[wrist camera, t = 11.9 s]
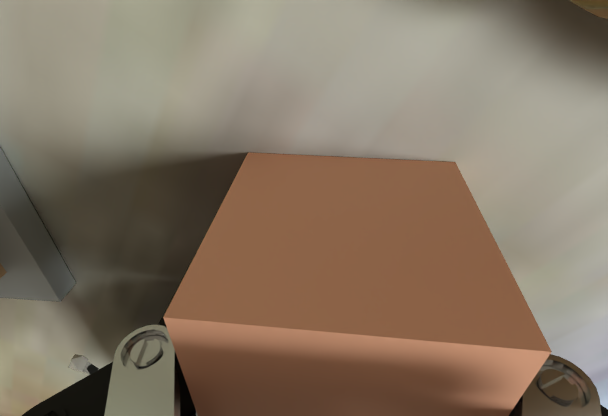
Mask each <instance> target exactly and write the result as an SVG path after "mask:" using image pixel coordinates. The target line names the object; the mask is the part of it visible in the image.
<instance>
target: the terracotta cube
mask: <svg viewBox="0 0 608 416" xmlns="http://www.w3.org/2000/svg"><path fill="white" fill-rule="evenodd" d="M163 318H164V321H165V324H166V327H167V330H168V333H169V335H170V338H171V341H172V344H173V347H174V349H175V352H176V355H177V358H178V361H179V364H180V366H181V369H182V372H183V375H184V378H185V381H186V383H187V386H188V389H189V392H190V395H191V398H192V400H193V403H194V406H195V409H196V412H197V415H198V416H509V414H510V413H511V411H512V410H513V408H514V407H515V405H516V404H517V402H518V401H519V399H520V398H521V396H522V395H523V393H524V392H525V390H526V389H527V388H528V386H529V385H530V383H531V382H532V380H533V379H534V377H535V376H536V374H537V373H538V371H539V370H540V368H541V367H542V365H543V364H544V362H545V361H546V359H547V358H548V356H549V355H550V353H551V350H550V348H549V346H548V344H547V342H546V340H545V338H544V336H543V334H542V332H541V330H540V328H539V326H538V324H537V322H536V320H535V318H534V316H533V314H532V312H531V310H530V308H529V306H528V305H527V303H526V301H525V299H524V297H523V295H522V293H521V291H520V289H519V287H518V285H517V283H516V281H515V279H514V277H513V275H512V273H511V271H510V269H509V267H508V265H507V263H506V261H505V259H504V257H503V255H502V253H501V251H500V249H499V247H498V245H497V243H496V241H495V239H494V238H493V236H492V234H491V232H490V230H489V228H488V226H487V224H486V222H485V220H484V218H483V216H482V214H481V212H480V210H479V208H478V206H477V204H476V202H475V200H474V198H473V196H472V194H471V192H470V190H469V188H468V186H467V184H466V182H465V180H464V178H463V176H462V174H461V173H460V171H459V169H458V167H457V165H456V163H455V162H440V161H419V160H398V159H376V158H355V157H334V156H313V155H291V154H270V153H249V152H248V154H247V156H246V158H245V160H244V161H243V163H242V165H241V167H240V169H239V171H238V173H237V175H236V177H235V179H234V181H233V183H232V185H231V187H230V189H229V191H228V193H227V194H226V196H225V198H224V200H223V202H222V204H221V206H220V208H219V210H218V212H217V214H216V216H215V218H214V220H213V222H212V224H211V226H210V227H209V229H208V231H207V233H206V235H205V237H204V239H203V241H202V243H201V245H200V247H199V249H198V251H197V253H196V255H195V257H194V259H193V260H192V262H191V264H190V266H189V268H188V270H187V272H186V274H185V276H184V278H183V280H182V282H181V284H180V286H179V288H178V290H177V292H176V293H175V295H174V297H173V299H172V301H171V303H170V305H169V307H168V309H167V311H166V313H165V315H164V317H163Z"/></svg>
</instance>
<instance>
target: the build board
mask: <svg viewBox="0 0 608 416" xmlns="http://www.w3.org/2000/svg"><path fill="white" fill-rule="evenodd" d="M0 263H1V265H2V266H3V268H4V269H5V270H6V272H7V273H6V274H5V275H4V276H2V277H1V278H0V298H13V299H27V300H42V301H56V302H61V301H62V299H63V298H64V297H65V296H66V295H67V293H68V292H69V291H70V290H71V289H72V287H73V286H74V285H75V284H76V282H75V280H74V278H73V277H72V275H71V273H70V271H69V269H68V268H67V266H66V264H65V262H64V261H63V259H62V257H61V255H60V253H59V252H58V250H57V248H56V246H55V244H54V243H53V241H52V239H51V237H50V235H49V234H48V232H47V230H46V228H45V226H44V225H43V223H42V221H41V219H40V217H39V216H38V214H37V212H36V210H35V208H34V207H33V205H32V203H31V201H30V200H29V198H28V196H27V194H26V192H25V191H24V189H23V187H22V185H21V183H20V182H19V180H18V178H17V176H16V174H15V173H14V171H13V169H12V167H11V165H10V164H9V162H8V160H7V158H6V156H5V155H4V153H3V151H2V149H1V147H0Z"/></svg>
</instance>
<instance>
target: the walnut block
mask: <svg viewBox="0 0 608 416" xmlns="http://www.w3.org/2000/svg"><path fill="white" fill-rule="evenodd" d="M6 273H7V272H6V270H5V269H4V268H3V266H2V265H1V263H0V278H1V277H2V276H4V275H5V274H6Z"/></svg>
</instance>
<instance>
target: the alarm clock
mask: <svg viewBox="0 0 608 416" xmlns="http://www.w3.org/2000/svg"><path fill="white" fill-rule="evenodd" d="M569 1H571V2H572V3H574V4H575V5H577V6H579V7H581V8H583V9H585V10H586V11H588V12H590V13H592V14H594V15H596V16H597V17H602V18H606V19H608V0H569Z"/></svg>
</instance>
